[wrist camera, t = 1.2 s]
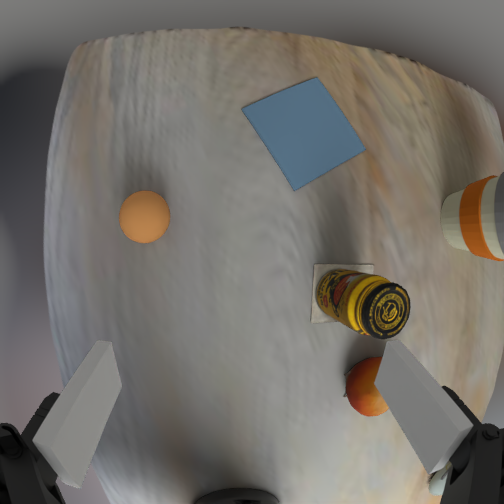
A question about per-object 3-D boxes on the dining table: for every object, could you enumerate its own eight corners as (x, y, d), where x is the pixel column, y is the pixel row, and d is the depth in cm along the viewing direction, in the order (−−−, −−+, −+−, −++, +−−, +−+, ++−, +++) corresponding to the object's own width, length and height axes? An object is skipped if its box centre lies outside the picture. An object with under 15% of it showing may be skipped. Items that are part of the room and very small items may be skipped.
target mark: (294, 191, 34) (294, 190, 34) (241, 109, 33) (241, 109, 33) (365, 150, 35) (365, 149, 35) (316, 77, 34) (317, 77, 34)
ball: (142, 252, 32) (129, 254, 26) (119, 211, 31) (103, 206, 26) (182, 226, 32) (176, 223, 27) (158, 185, 32) (148, 175, 26)
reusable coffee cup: (482, 205, 39) (546, 198, 24) (468, 270, 39) (537, 279, 24) (441, 167, 37) (512, 148, 23) (424, 240, 37) (504, 241, 22)
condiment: (313, 263, 35) (362, 274, 23) (372, 264, 36) (433, 273, 24) (310, 322, 35) (354, 357, 23) (368, 319, 36) (424, 345, 24)
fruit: (325, 374, 34) (379, 383, 28) (356, 345, 39) (406, 349, 33) (333, 419, 35) (383, 432, 28) (362, 389, 40) (408, 396, 33)
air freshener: (461, 453, 43) (484, 471, 33) (447, 476, 43) (468, 495, 33) (433, 465, 41) (457, 487, 31) (419, 489, 41) (440, 511, 31)
